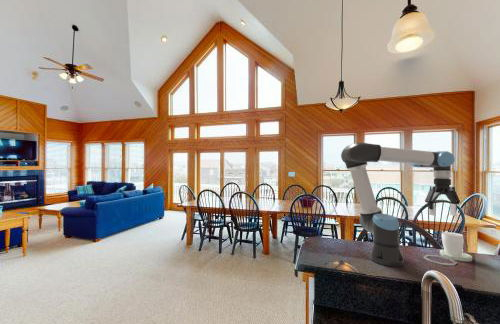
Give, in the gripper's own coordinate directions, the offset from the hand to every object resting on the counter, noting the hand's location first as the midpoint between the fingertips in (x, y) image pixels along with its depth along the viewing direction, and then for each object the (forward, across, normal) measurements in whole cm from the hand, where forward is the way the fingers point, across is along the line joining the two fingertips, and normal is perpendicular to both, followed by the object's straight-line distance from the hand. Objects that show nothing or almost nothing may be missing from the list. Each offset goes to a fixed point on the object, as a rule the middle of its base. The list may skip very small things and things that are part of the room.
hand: (442, 215), depth 124 cm
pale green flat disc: (+22, +4, -3) cm, 23 cm away
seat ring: (+22, -10, -7) cm, 26 cm away
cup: (+22, +2, -3) cm, 22 cm away
